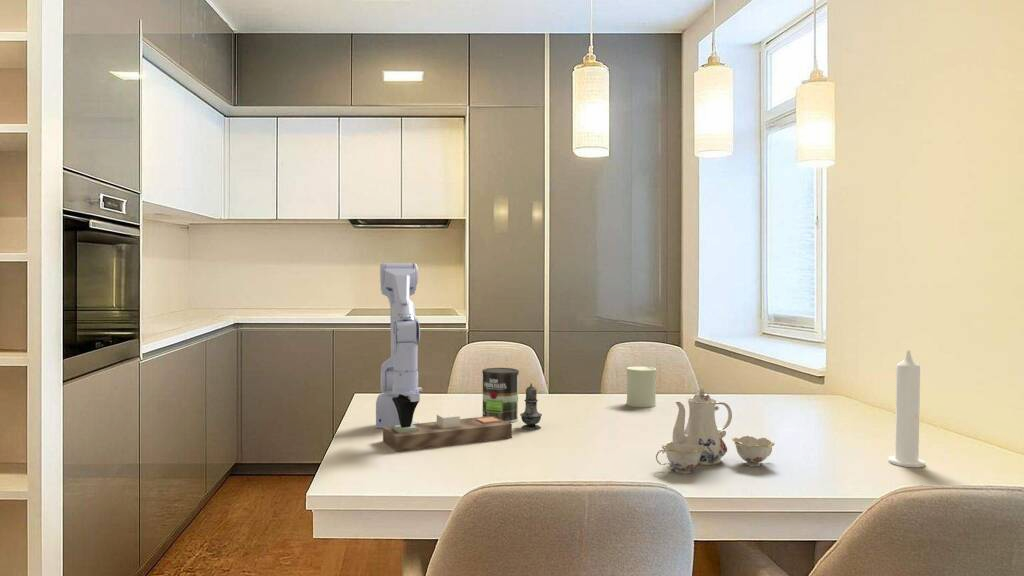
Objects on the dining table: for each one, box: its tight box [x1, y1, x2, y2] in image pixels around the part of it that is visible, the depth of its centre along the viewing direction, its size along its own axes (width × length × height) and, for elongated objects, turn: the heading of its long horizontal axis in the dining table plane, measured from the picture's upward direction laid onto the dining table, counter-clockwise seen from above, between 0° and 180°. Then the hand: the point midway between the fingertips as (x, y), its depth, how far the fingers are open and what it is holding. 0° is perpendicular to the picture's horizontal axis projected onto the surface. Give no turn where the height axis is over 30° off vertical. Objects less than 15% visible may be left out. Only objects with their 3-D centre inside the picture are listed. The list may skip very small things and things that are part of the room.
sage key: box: [394, 424, 417, 433], centre depth 168 cm, size 4×4×3 cm
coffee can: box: [481, 367, 520, 424], centre depth 196 cm, size 10×10×14 cm
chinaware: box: [655, 387, 775, 475], centre depth 152 cm, size 28×17×17 cm, turn 113°
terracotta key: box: [477, 417, 500, 424], centre depth 178 cm, size 4×4×3 cm
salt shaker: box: [520, 383, 543, 431], centre depth 186 cm, size 6×6×12 cm
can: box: [625, 365, 657, 409], centre depth 218 cm, size 9×9×12 cm
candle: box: [887, 349, 926, 469], centre depth 152 cm, size 7×7×25 cm
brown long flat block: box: [382, 416, 513, 453], centre depth 173 cm, size 30×11×4 cm, turn 117°
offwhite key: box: [436, 412, 461, 429], centre depth 173 cm, size 4×4×3 cm
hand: (405, 426), depth 167 cm, fingers closed, pressing on sage key
